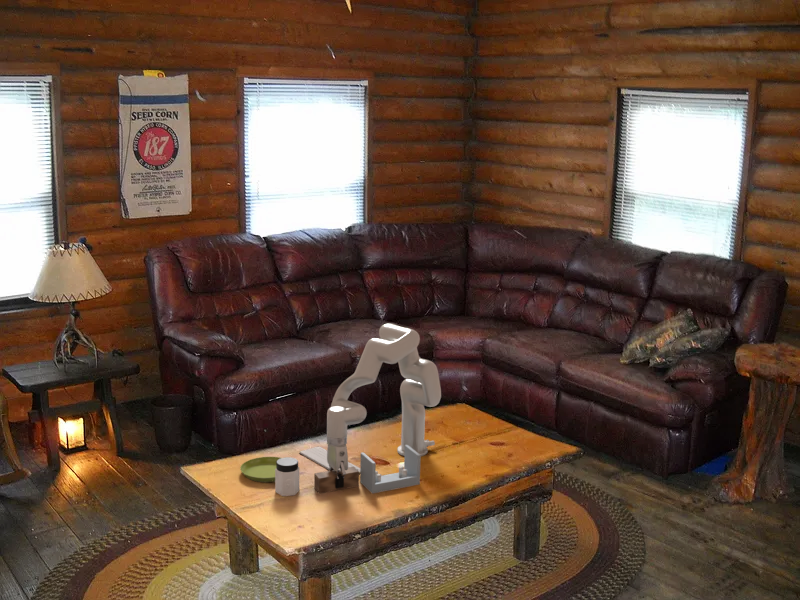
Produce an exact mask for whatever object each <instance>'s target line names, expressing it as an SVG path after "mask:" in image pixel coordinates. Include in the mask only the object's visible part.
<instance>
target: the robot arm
mask: <svg viewBox="0 0 800 600" xmlns="http://www.w3.org/2000/svg"><path fill="white" fill-rule="evenodd" d="M378 333H379V335H378V336H379V338H377V337H373V338H370V339H368V341H367V342H366V344H365V346H364V349H363V351H362V354H361V356H360V359H359V362H358V364H357V366H356V368H355V371H354V373H353V374H351V375H350V376H349V377H347V378H346V379H345V380H344V381H343V382H342V383H341V384H340V385H339V386H338V388H337V389H336V391H335V393H334V396H333V398H332V402H331V404H330V407H329V408H328V409H327V413H326V445H327V449H326V450H327V462H328V464H329V470H328V471H331V470H335V471H336V478H335V488H336V489H337V488H342V487H344V475H345V474H346V472H345V470H348V462H349V460H348V459H349V456H348V448H347V444H348V426H351V425H356V424H360V423H362V422H363V421H365V420H366V417H367V415H368V414H367V413H368V412H367V409H366V408H365V406H364V405H362V404H360V403H357V402H354V401H350V400H348V399H349V397H350V395H351V393H353V392H354V391H355V390H356V389H357V388H360V387H362V386H365V385H370V384H373V383H375V382H376V380H377V378H378V375H379V372H380V370H381V367H382V365H383V364H384V363H385V364H390V365H395V364H397V363H398V368H399V372H400V375H401V376H402V377H403V378H404V380H403V381H402V382H401V383H400V388H399V393H400V399H401V443H400V445H399V446H398V447H397V453H398V454H399V455H401V456H403V457H404V456H405V445H408V446H410V447H411V448H412V449H413V450H415V451H416V452H417V453H419V454H420V455H421V457H424V456H425V455H427V454H428V450H429V449H428V447H429V446H430V447H431V446H432V447H433V446H435V444H436V442H435V440H429V439H425V434H426V433H425V432H426V431H425V426H426V425H425V424H426V409H425V406H426V407H429V408H431V407H436V406H437V405H438V404H439V403H440V401H441V398H442V388H441V381H440V375H439V371H438V367H437V365H436V364H435V363H434V362H433V361H431V360H429V359H425V358H421V356H420V355H419V351H418V346H419V344H420V341H421V339H420V334H419V332H418V331H416V330H415V329H412V328H409V327H406V326H405V327H404V326H401V325H400V326H399V325H397V324H396V323H390V322H389V323H385V324H383V325H381V326H380V327H379V330H378ZM338 469H341V470H338ZM338 472H341V473H340V474H339V475H338Z"/></svg>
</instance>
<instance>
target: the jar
mask: <svg viewBox="0 0 800 600" xmlns="http://www.w3.org/2000/svg"><path fill="white" fill-rule="evenodd" d="M274 483H275V486H274V487H275V489H274V490H275V493H277V494H279V496H282V497H289V496H295V495H297V493H298V492H299V491H300V467H299V460H298V459H297V458H295V457H291V456H289V457H280V459H278V460H277V461H276V469H275V481H274Z"/></svg>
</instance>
